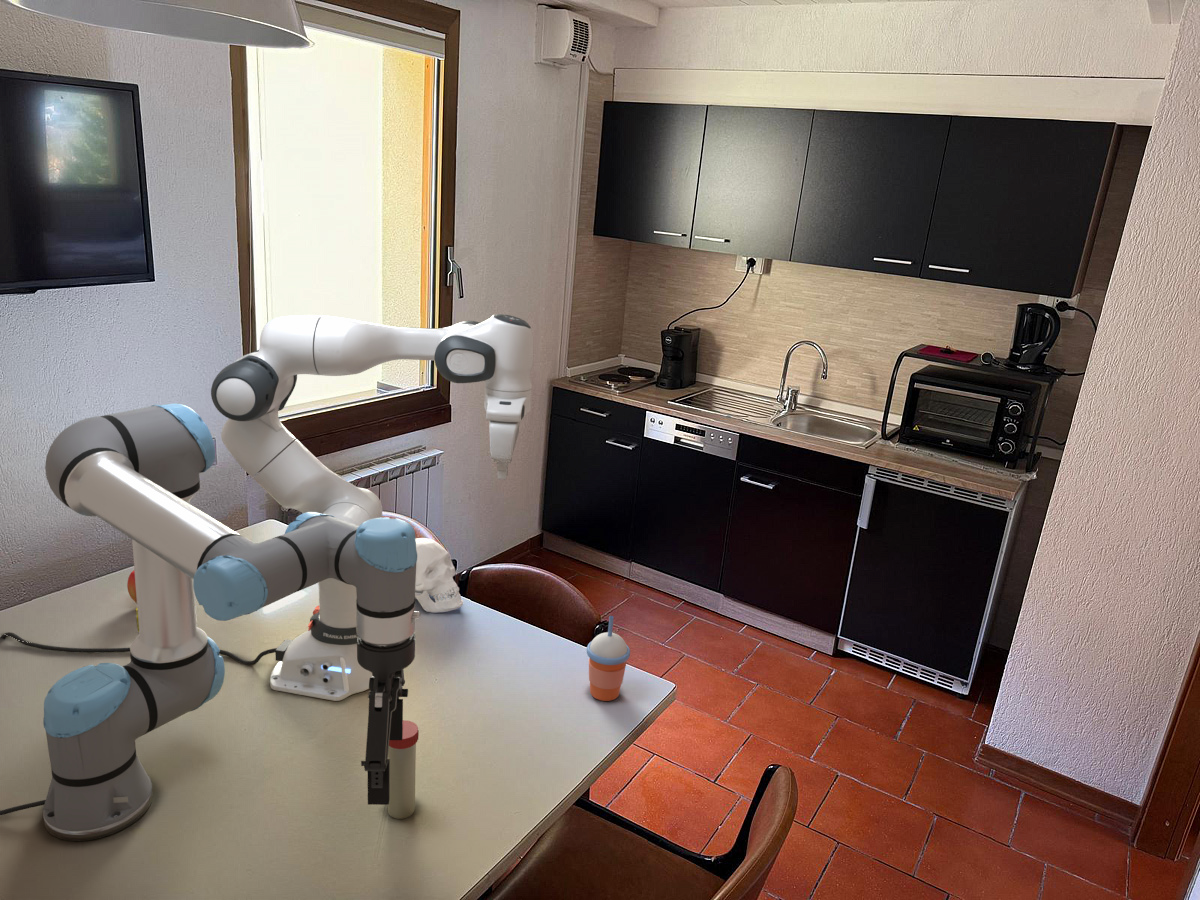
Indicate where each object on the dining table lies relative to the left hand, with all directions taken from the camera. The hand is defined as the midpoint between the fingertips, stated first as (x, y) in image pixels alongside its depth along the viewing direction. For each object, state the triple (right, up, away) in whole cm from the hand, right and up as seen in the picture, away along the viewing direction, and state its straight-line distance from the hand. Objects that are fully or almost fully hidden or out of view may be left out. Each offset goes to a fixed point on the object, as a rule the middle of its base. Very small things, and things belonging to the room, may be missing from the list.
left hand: (386, 769), depth 119 cm
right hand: (+11, +41, +47) cm, 63 cm away
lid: (-2, -1, +19) cm, 20 cm away
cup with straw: (+31, -7, +61) cm, 69 cm away
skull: (-14, +7, +94) cm, 95 cm away
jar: (-3, -16, +24) cm, 29 cm away
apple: (-75, +8, +81) cm, 111 cm away
